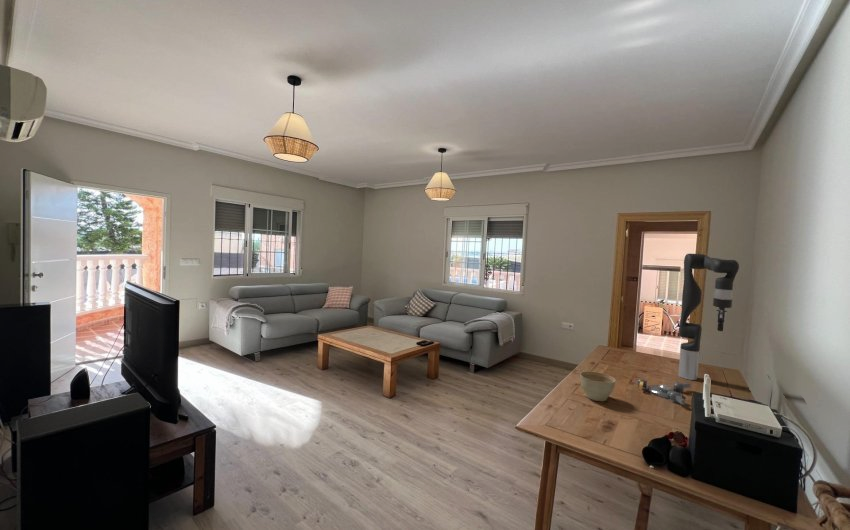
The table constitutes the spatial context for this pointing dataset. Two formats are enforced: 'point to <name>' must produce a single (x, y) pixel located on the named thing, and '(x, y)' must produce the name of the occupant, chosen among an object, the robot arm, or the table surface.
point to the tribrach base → (662, 391)
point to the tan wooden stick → (642, 383)
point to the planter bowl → (597, 385)
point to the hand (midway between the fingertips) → (720, 330)
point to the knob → (676, 397)
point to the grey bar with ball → (681, 386)
